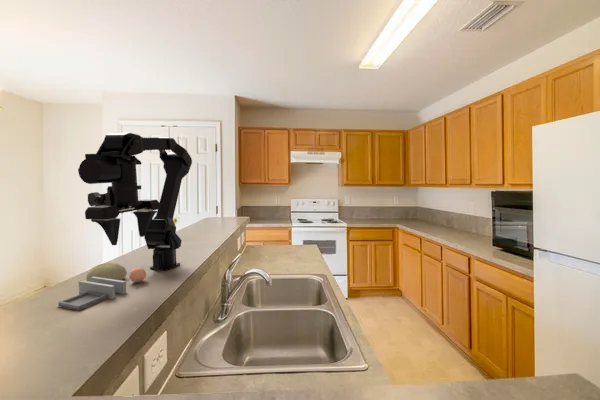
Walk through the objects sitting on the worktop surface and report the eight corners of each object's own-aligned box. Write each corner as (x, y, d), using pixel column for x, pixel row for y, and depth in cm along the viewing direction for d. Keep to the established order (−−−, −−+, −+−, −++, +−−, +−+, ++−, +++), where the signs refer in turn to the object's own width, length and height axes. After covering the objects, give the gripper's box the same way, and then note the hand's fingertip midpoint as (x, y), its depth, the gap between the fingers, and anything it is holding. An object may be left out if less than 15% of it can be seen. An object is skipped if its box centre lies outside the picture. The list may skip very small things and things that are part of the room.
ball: (138, 278, 80) (138, 265, 80) (149, 280, 79) (149, 266, 79) (126, 283, 77) (125, 269, 76) (137, 285, 75) (136, 270, 75)
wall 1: (82, 292, 71) (81, 280, 71) (115, 297, 68) (114, 285, 68) (79, 293, 70) (78, 281, 70) (112, 299, 67) (111, 286, 67)
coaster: (87, 295, 69) (87, 291, 69) (107, 298, 67) (106, 294, 67) (58, 306, 63) (58, 302, 63) (78, 310, 61) (78, 306, 61)
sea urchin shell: (109, 282, 73) (90, 259, 74) (93, 301, 75) (73, 278, 75) (136, 270, 82) (118, 250, 83) (121, 287, 84) (103, 268, 84)
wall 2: (94, 287, 74) (93, 276, 74) (126, 292, 71) (125, 281, 70) (91, 288, 73) (90, 277, 73) (123, 294, 70) (122, 282, 70)
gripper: (127, 180, 85) (130, 231, 86) (63, 183, 67) (69, 248, 68) (159, 180, 82) (162, 233, 84) (102, 183, 64) (108, 251, 66)
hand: (128, 240), depth 76 cm, fingers open, 9 cm apart
